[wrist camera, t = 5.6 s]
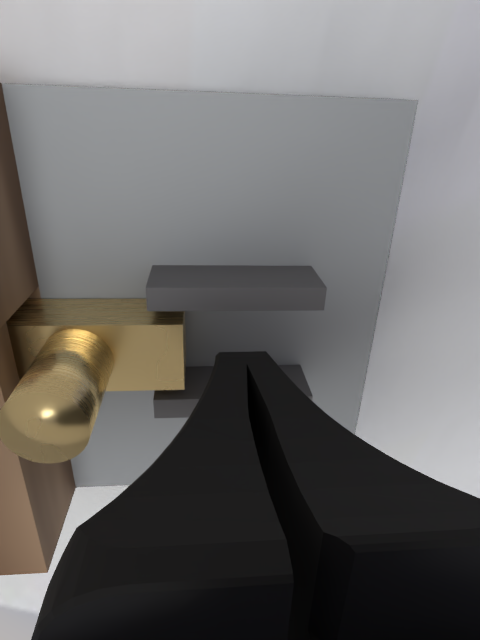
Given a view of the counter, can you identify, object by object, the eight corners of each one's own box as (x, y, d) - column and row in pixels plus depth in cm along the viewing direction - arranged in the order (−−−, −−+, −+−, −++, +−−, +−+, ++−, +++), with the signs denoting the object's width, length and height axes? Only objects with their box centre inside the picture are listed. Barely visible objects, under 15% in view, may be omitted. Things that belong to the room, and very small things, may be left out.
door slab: (396, 100, 13) (454, 98, 10) (336, 450, 19) (362, 514, 16) (23, 86, 12) (-36, 78, 9) (84, 459, 18) (61, 529, 15)
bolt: (184, 298, 14) (177, 386, 9) (186, 357, 15) (180, 462, 10) (-46, 298, 13) (-168, 392, 9) (-29, 360, 14) (-131, 472, 10)
